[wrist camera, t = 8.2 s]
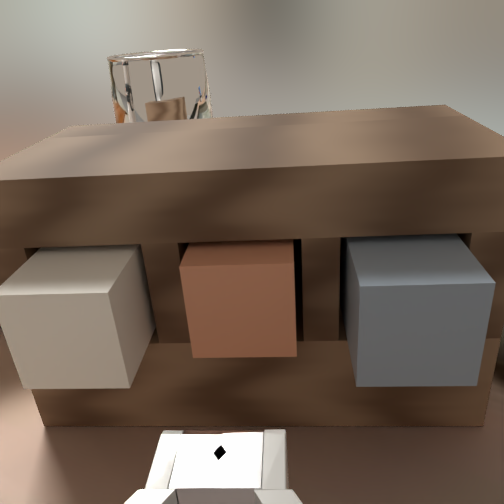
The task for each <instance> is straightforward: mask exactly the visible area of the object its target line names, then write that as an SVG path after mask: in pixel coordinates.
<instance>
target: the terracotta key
mask: <svg viewBox="0 0 504 504" xmlns="http://www.w3.org/2000/svg"><path fill="white" fill-rule="evenodd" d="M179 269H180V276H181V282H182V289H183V295H184V302H185V309H186V315H187V322H188V328H189V335H190V342H191V348H192V355H193V358H235V357H297V344H296V311H295V279H294V249H293V239H275V240H245V241H216V242H189V245H188V247H187V249H186V252H185V254H184V256H183V259H182V261H181V263H180V266H179Z"/></svg>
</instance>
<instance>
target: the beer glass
mask: <svg viewBox="0 0 504 504" xmlns="http://www.w3.org/2000/svg"><path fill="white" fill-rule="evenodd" d="M107 60H108V65H109V73H110V82H111V92H112V101H113V108H114V114H115V120H116V123H132V122H150V121H167V120H185V119H203V118H213V114H212V104H211V97H210V90H209V84H208V78H207V73H206V68H205V62H204V56H203V50H202V49H178V50H163V51H150V52H139V53H130V54H122V55H114V56H110V57H107Z"/></svg>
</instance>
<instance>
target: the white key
mask: <svg viewBox="0 0 504 504" xmlns="http://www.w3.org/2000/svg"><path fill="white" fill-rule="evenodd" d="M0 325H1V328H2V331H3V333H4V336H5V339H6V342H7V344H8V347H9V350H10V353H11V355H12V358H13V361H14V364H15V366H16V369H17V372H18V375H19V378H20V380H21V383H22V386H23V389H105V388H130V387H131V385H132V382H133V380H134V378H135V375H136V373H137V371H138V368H139V366H140V363H141V361H142V359H143V356H144V354H145V352H146V349H147V347H148V344H149V342H150V340H151V337H152V335H153V332H154V330H155V328H156V323H155V317H154V312H153V307H152V301H151V296H150V291H149V285H148V280H147V275H146V269H145V264H144V259H143V253H142V248H141V244H127V245H98V246H68V247H41V248H40V249H39V250H38V251H37V252H36V253H35V254H34V255H33V256H31V257H30V258H29V259H28V260H27V261H26V262H25V263H24V264H23V265H22V266H21V267H20V268H19V269H18V270H17V271H15V272H14V273H13V274H12V275H11V276H10V277H9V278H8V279H7V280H6V281H5V282H4V283H3V284H2V285H1V286H0Z"/></svg>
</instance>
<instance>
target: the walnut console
mask: <svg viewBox="0 0 504 504" xmlns="http://www.w3.org/2000/svg"><path fill="white" fill-rule="evenodd" d="M452 233H456V234H457V235H458V236H459V237H460V239H461V240H462V241H463V242H464V244H465V245H466V246H467V247H468V249H469V250H470V251H471V252H472V254H473V255H474V256H475V258H476V259H477V260H478V261H479V263H480V264H481V265H482V266H483V268H484V269H485V270H486V271H487V273H488V274H489V275H490V276H491V278H492V279H493V280H494V281H495V283H496V284H495V290H494V295H493V300H492V306H491V311H490V317H489V322H488V328H487V333H486V338H485V344H484V349H483V355H482V360H481V366H480V371H479V376H478V382H477V386H397V387H356V383H355V378H354V372H353V367H352V362H351V357H350V352H349V346H348V341H347V336H346V331H345V326H344V320H343V315H342V310H341V305H340V300H339V287H340V237H364V236H393V235H423V234H452ZM275 239H293V249H294V279H295V311H296V344H297V357H235V358H193V355H192V348H191V342H190V335H189V328H188V322H187V315H186V309H185V302H184V295H183V289H182V282H181V276H180V269H179V266H180V263H181V261H182V259H183V256H184V254H185V252H186V249H187V247H188V245H189V242H216V241H245V240H275ZM127 244H141V248H142V253H143V259H144V264H145V269H146V275H147V280H148V285H149V291H150V296H151V301H152V307H153V312H154V317H155V323H156V328H155V330H154V332H153V335H152V337H151V340H150V342H149V344H148V347H147V349H146V352H145V354H144V356H143V359H142V361H141V363H140V366H139V368H138V371H137V373H136V375H135V378H134V380H133V382H132V385H131V387H130V388H105V389H31V390H32V393H33V396H34V399H35V401H36V404H37V407H38V410H39V413H40V416H41V418H42V421H43V424H44V426H483V424H484V419H485V414H486V409H487V404H488V399H489V394H490V389H491V384H492V379H493V374H494V369H495V364H496V359H497V355H498V350H499V345H500V340H501V335H502V330H503V325H504V137H503V136H502V135H500V134H498V133H496V132H494V131H492V130H490V129H489V128H487V127H485V126H483V125H481V124H479V123H478V122H476V121H474V120H472V119H470V118H468V117H467V116H465V115H463V114H461V113H459V112H457V111H455V110H454V109H452V108H450V107H448V106H446V105H432V106H416V107H397V108H380V109H361V110H345V111H326V112H310V113H291V114H273V115H256V116H238V117H221V118H203V119H185V120H167V121H150V122H132V123H114V124H97V125H79V126H70V127H68V128H66V129H64V130H62V131H60V132H58V133H56V134H54V135H52V136H50V137H48V138H46V139H44V140H42V141H40V142H38V143H36V144H34V145H32V146H30V147H28V148H26V149H24V150H22V151H20V152H18V153H16V154H14V155H12V156H10V157H8V158H6V159H4V160H2V161H0V286H1V285H2V284H3V283H4V282H5V281H6V280H7V279H8V278H9V277H10V276H11V275H12V274H13V273H14V272H15V271H17V270H18V269H19V268H20V267H21V266H22V265H23V264H24V263H25V262H26V261H27V260H28V259H29V258H30V257H31V256H33V255H34V254H35V253H36V252H37V251H38V250H39V249H40V248H41V247H68V246H98V245H127Z"/></svg>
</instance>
